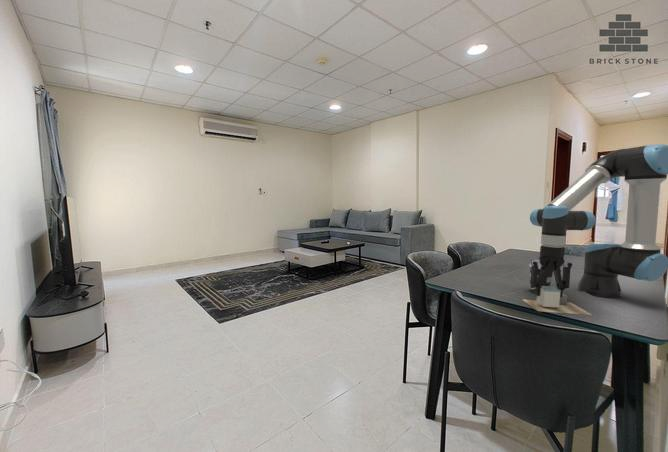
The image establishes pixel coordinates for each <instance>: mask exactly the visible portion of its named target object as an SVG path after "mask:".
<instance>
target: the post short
mask: <svg viewBox="0 0 668 452" xmlns="http://www.w3.org/2000/svg"><path fill="white" fill-rule="evenodd" d="M567 302H568V295H567V294H565V293H563V294H562V297H560V302H559V305H567Z"/></svg>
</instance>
